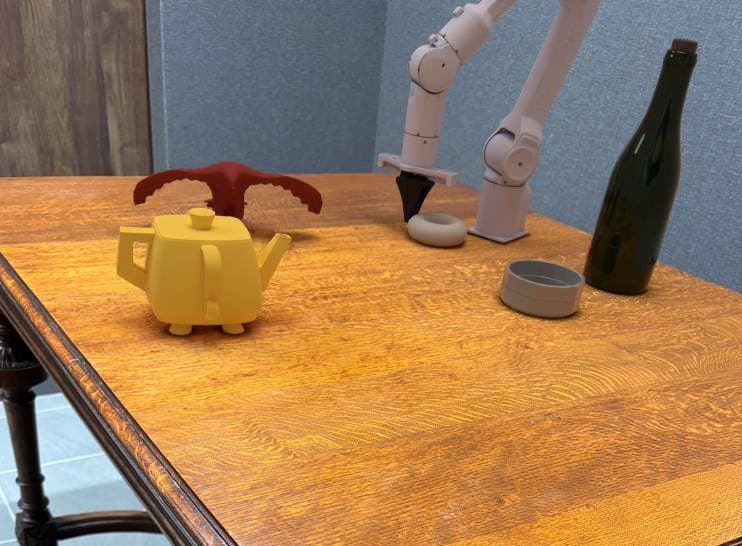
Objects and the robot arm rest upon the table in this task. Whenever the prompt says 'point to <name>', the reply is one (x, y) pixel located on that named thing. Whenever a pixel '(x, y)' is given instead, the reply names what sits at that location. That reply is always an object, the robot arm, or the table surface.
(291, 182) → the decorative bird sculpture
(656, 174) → the wine bottle
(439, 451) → the table surface
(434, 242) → the donut
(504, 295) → the pan
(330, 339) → the table surface
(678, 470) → the table surface
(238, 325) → the teapot
